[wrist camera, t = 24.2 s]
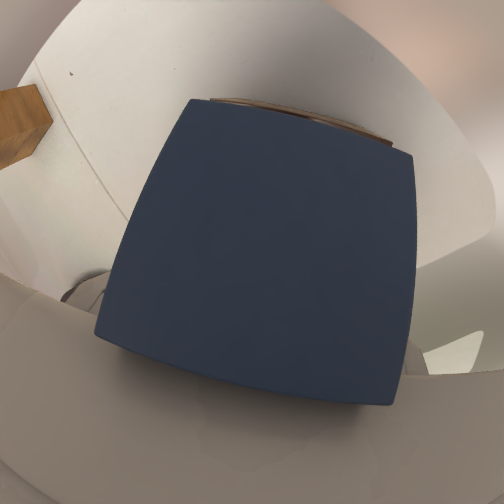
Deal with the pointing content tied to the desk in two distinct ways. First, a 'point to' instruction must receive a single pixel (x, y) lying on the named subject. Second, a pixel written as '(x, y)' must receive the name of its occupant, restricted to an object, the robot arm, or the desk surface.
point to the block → (270, 257)
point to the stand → (21, 123)
